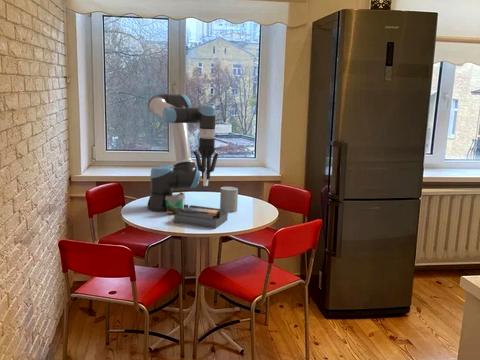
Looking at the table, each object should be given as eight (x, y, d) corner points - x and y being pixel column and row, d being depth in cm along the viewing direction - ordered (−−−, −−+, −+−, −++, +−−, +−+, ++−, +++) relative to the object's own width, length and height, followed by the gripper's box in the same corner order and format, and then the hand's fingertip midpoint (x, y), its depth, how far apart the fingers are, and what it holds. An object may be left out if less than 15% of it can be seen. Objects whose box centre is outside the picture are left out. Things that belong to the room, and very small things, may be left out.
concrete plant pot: (235, 213, 254) (236, 190, 251) (217, 211, 256) (218, 189, 253) (238, 209, 263) (239, 187, 260) (222, 207, 265) (222, 185, 262)
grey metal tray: (173, 222, 233) (174, 208, 231) (187, 214, 247) (188, 201, 246) (215, 228, 226) (216, 214, 224) (227, 220, 241) (227, 206, 239)
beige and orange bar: (181, 212, 236) (181, 209, 236) (186, 209, 241) (186, 206, 241) (215, 215, 231) (215, 212, 230) (219, 213, 235) (219, 210, 235)
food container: (174, 216, 243) (174, 197, 241) (165, 214, 246) (165, 195, 244) (189, 211, 253) (189, 193, 251) (180, 210, 256) (180, 191, 254)
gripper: (191, 137, 226) (190, 185, 231) (216, 139, 222) (215, 188, 227) (197, 135, 233) (196, 182, 238) (222, 137, 229) (220, 185, 234)
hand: (205, 185), depth 233 cm, fingers closed
